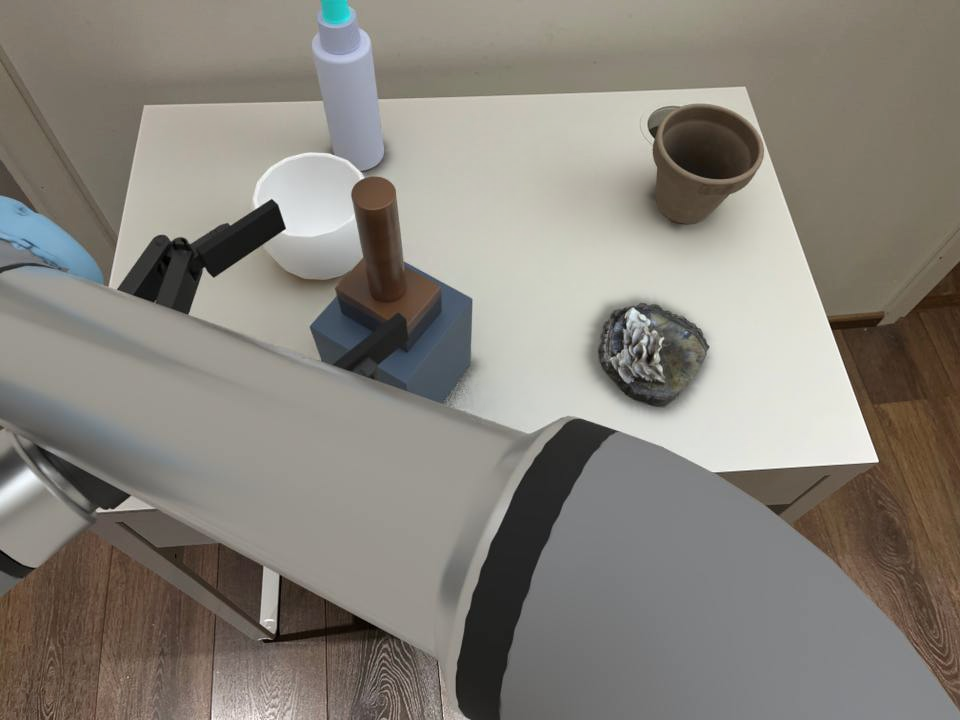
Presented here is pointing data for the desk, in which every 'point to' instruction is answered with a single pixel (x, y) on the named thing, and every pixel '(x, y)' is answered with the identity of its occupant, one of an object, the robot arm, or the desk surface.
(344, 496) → the robot arm
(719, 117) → the flower pot
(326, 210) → the cup
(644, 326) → the grey rough lump
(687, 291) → the desk surface
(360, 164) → the spray bottle
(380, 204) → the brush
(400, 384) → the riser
